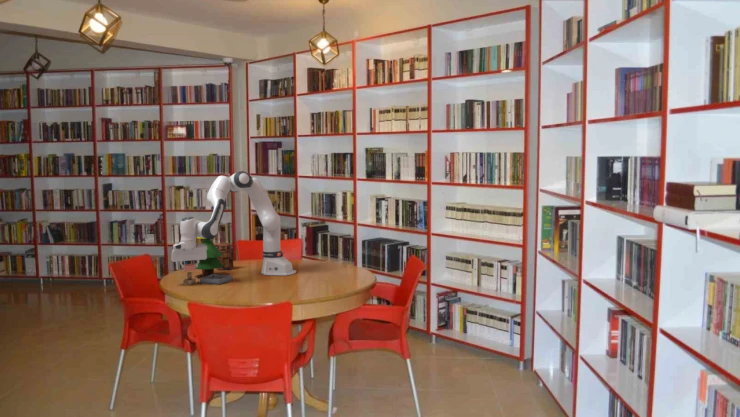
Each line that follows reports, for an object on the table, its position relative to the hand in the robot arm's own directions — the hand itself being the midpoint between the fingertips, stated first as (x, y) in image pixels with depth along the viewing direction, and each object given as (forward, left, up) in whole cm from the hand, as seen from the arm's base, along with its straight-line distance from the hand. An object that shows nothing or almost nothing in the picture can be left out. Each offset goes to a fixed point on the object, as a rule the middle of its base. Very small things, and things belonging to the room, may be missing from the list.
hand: (189, 267), depth 356 cm
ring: (0, 0, -1) cm, 1 cm away
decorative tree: (+5, -24, -10) cm, 26 cm away
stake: (+1, 0, -10) cm, 10 cm away
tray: (-10, -11, -10) cm, 18 cm away
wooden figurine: (+8, -47, -10) cm, 49 cm away
